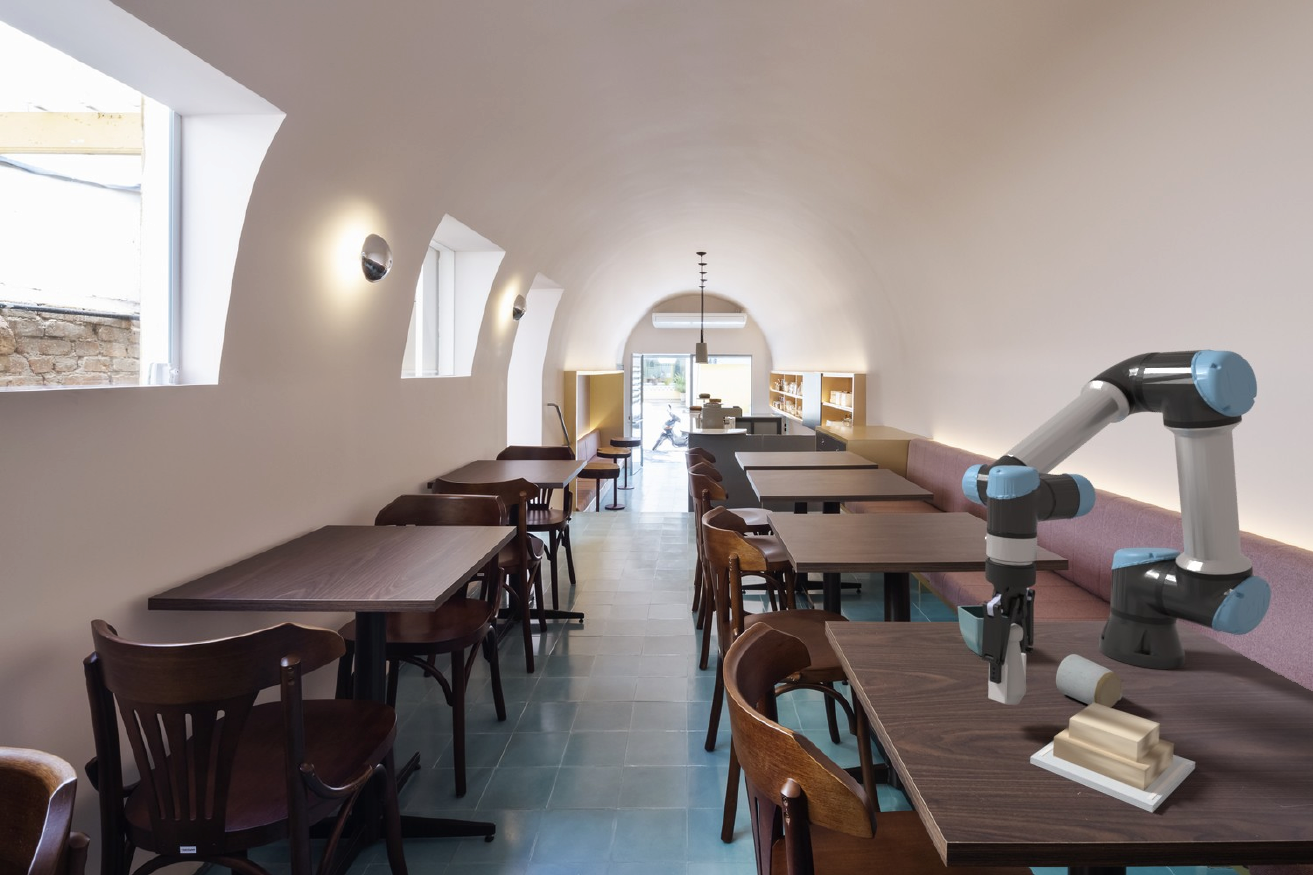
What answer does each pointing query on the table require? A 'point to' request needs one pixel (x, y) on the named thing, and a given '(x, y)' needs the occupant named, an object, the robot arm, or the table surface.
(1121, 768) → the birch plinth
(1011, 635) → the salt shaker
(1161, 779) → the board
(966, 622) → the flower pot
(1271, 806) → the table surface
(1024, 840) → the table surface
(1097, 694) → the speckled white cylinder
